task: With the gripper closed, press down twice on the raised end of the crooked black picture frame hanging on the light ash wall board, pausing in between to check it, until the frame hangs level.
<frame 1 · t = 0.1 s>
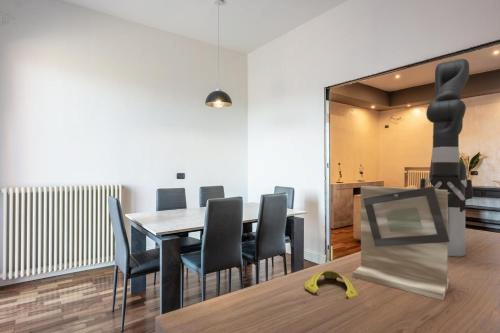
hand: (445, 210, 94), 17 cm above the table, fingers open, 8 cm apart
picture frame: (402, 218, 78), point 18 cm above the table, hinge at 14.0°
yellow horseshoe piece: (331, 289, 77), on the table
wall board stand: (397, 282, 79), on the table
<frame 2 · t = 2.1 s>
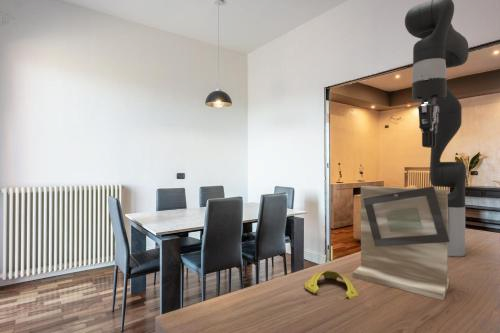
hand: (428, 146, 74), 37 cm above the table, fingers open, 4 cm apart
nothing on the table moved.
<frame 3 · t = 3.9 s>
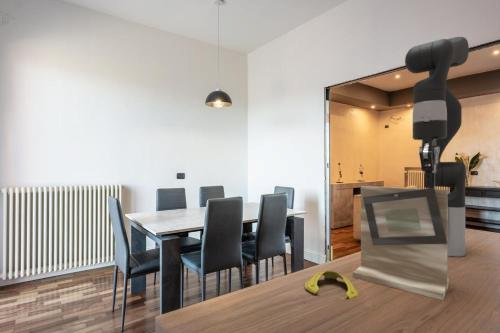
hand: (429, 187, 74), 27 cm above the table, fingers closed
picture frame: (401, 218, 78), point 18 cm above the table, hinge at 11.4°, touching gripper
everything else where it was.
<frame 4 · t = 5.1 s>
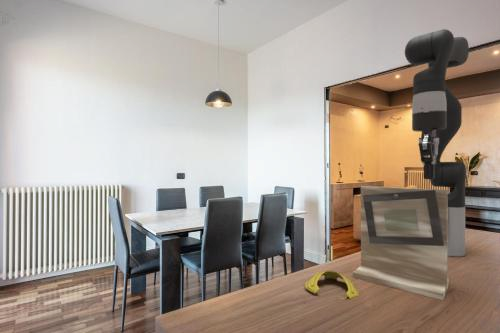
hand: (428, 179, 74), 29 cm above the table, fingers closed
picture frame: (400, 218, 78), point 18 cm above the table, hinge at 7.9°
everything else where it was.
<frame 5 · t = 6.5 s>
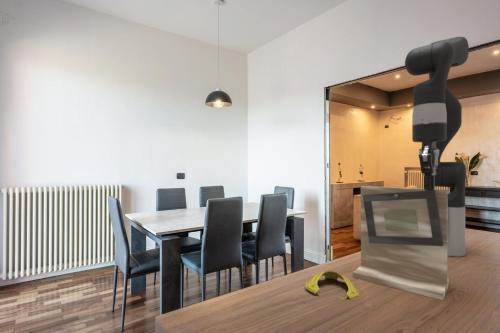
hand: (429, 190, 74), 26 cm above the table, fingers closed
picture frame: (400, 218, 78), point 18 cm above the table, hinge at 7.4°, touching gripper
everything else where it was.
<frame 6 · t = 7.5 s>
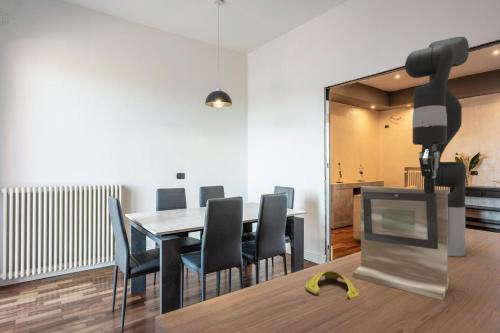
hand: (429, 192, 74), 25 cm above the table, fingers closed
picture frame: (397, 218, 78), point 18 cm above the table, hinge at 1.8°
everything else where it was.
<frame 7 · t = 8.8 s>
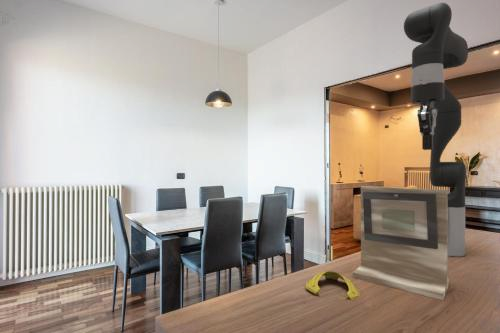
hand: (427, 149, 76), 37 cm above the table, fingers closed
nothing on the table moved.
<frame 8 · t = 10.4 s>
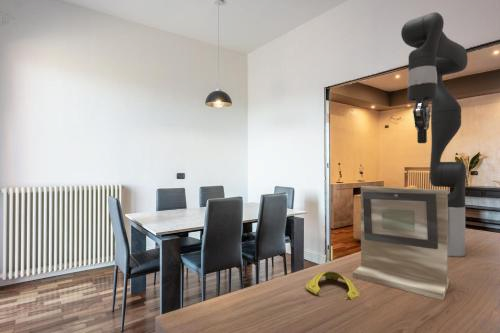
hand: (422, 143, 85), 39 cm above the table, fingers closed
nothing on the table moved.
at the end: picture frame at +2° (first picture: +14°) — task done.
